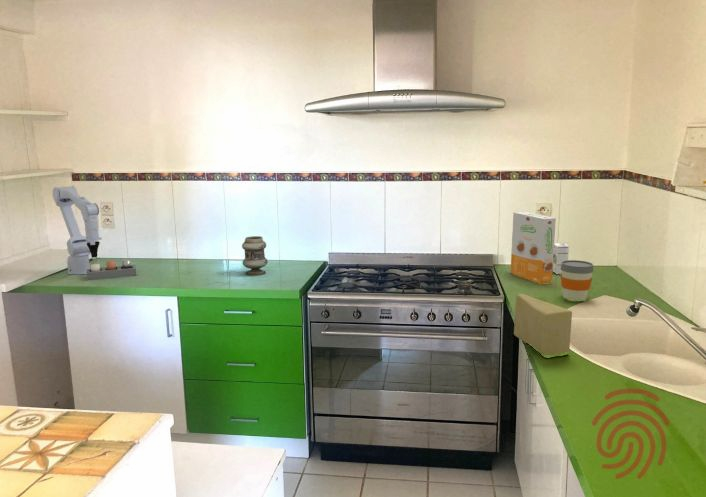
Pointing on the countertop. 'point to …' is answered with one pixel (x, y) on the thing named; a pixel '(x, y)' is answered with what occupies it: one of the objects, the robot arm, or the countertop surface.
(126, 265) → the steel plunger
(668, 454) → the countertop surface
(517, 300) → the cheese
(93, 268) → the ivory plunger
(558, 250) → the syrup box
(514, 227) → the cereal box
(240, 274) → the countertop surface
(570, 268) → the reusable coffee cup
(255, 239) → the apothecary jar
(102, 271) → the button panel
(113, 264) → the brick-red plunger
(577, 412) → the countertop surface
